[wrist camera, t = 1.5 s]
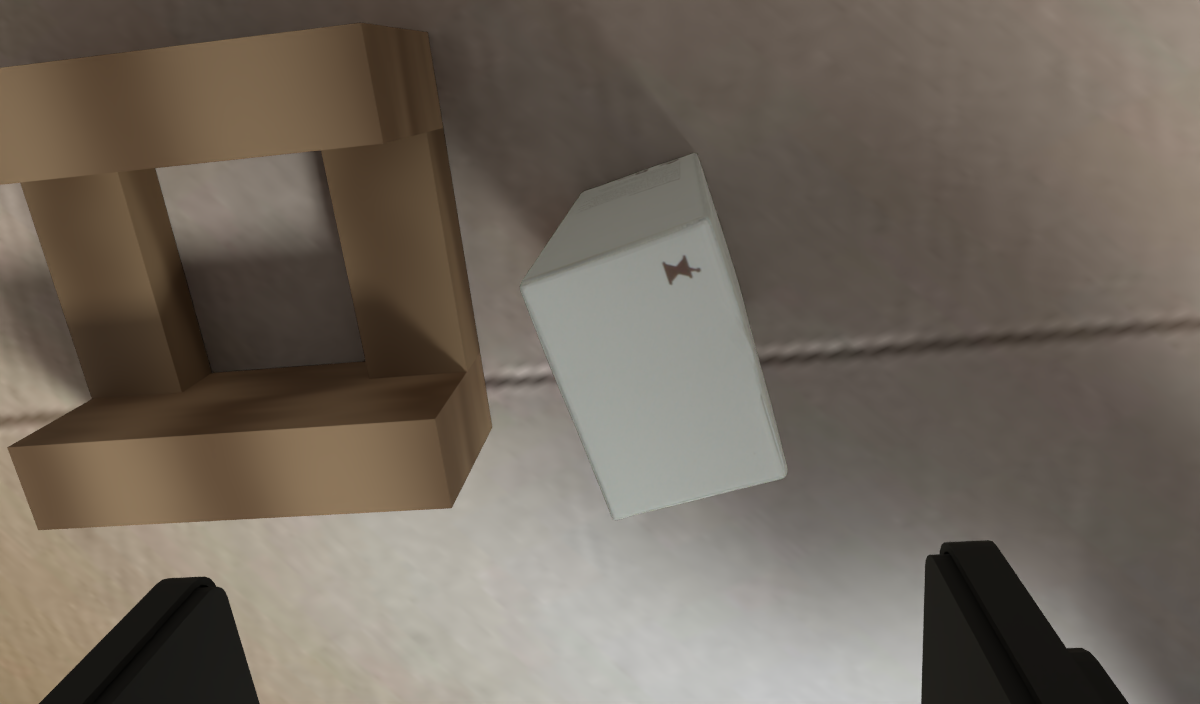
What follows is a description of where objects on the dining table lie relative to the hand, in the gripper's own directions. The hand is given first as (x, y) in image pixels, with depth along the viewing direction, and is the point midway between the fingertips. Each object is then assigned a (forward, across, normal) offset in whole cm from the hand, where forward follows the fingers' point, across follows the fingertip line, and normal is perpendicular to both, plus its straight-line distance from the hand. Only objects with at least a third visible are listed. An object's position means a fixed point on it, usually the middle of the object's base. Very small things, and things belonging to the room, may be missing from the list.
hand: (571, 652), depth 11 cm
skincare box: (+19, -1, -1) cm, 19 cm away
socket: (+19, +13, -2) cm, 23 cm away
